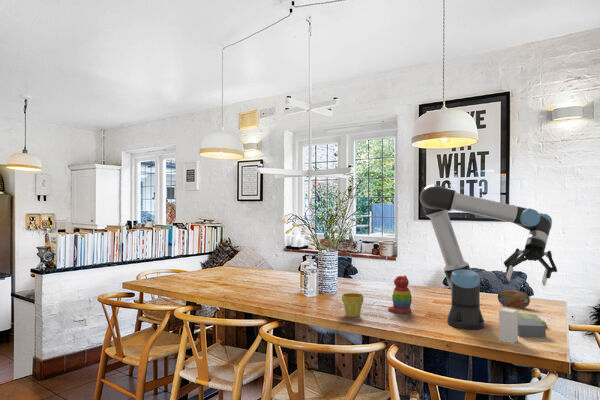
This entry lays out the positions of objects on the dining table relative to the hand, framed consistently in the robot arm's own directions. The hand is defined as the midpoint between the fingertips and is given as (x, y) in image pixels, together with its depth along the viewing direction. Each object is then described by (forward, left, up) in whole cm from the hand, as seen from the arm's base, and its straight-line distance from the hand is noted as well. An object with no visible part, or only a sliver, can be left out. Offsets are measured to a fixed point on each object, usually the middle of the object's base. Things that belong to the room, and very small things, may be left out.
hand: (525, 281), depth 166 cm
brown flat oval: (+16, +44, -21) cm, 51 cm away
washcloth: (+8, +16, -22) cm, 28 cm away
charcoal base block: (0, -1, -21) cm, 22 cm away
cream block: (-12, -11, -21) cm, 27 cm away
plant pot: (-70, +22, -21) cm, 77 cm away
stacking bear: (-45, +31, -21) cm, 59 cm away
